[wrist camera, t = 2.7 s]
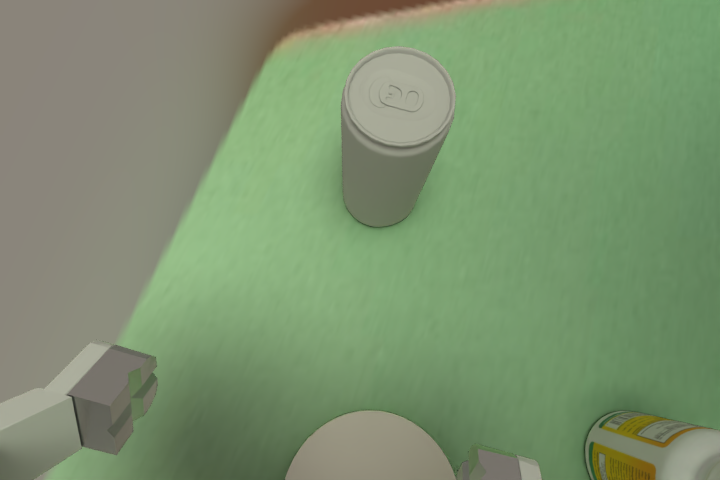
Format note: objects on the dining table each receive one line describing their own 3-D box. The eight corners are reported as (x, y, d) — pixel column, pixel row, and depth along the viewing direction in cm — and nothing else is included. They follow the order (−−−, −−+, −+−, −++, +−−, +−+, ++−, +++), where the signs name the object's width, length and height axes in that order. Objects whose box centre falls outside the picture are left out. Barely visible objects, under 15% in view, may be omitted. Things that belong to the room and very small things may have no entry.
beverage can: (353, 153, 30) (358, 30, 19) (422, 172, 30) (470, 59, 19) (334, 219, 29) (326, 131, 18) (405, 238, 29) (445, 162, 17)
